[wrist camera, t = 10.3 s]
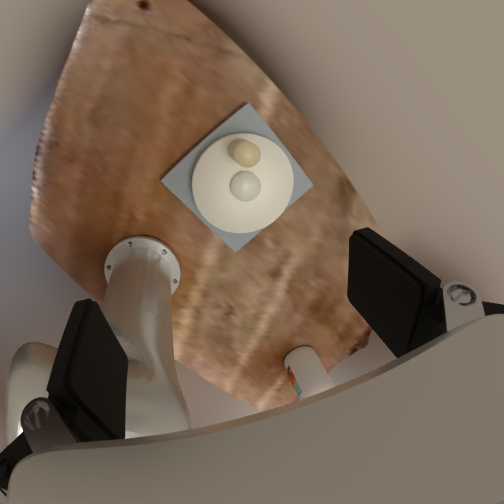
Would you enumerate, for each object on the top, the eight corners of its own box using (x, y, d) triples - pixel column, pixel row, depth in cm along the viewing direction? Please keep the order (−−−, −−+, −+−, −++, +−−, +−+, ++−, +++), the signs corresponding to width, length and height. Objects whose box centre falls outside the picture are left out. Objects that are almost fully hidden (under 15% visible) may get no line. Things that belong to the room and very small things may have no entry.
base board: (233, 248, 46) (235, 253, 45) (161, 178, 38) (160, 181, 37) (309, 182, 44) (313, 185, 43) (246, 103, 36) (248, 102, 35)
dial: (302, 153, 40) (325, 162, 34) (267, 237, 45) (282, 259, 39) (212, 118, 35) (219, 119, 29) (179, 214, 40) (179, 233, 34)
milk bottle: (287, 346, 61) (323, 420, 43) (318, 343, 63) (357, 411, 46) (279, 369, 64) (309, 439, 47) (308, 365, 66) (342, 430, 49)
